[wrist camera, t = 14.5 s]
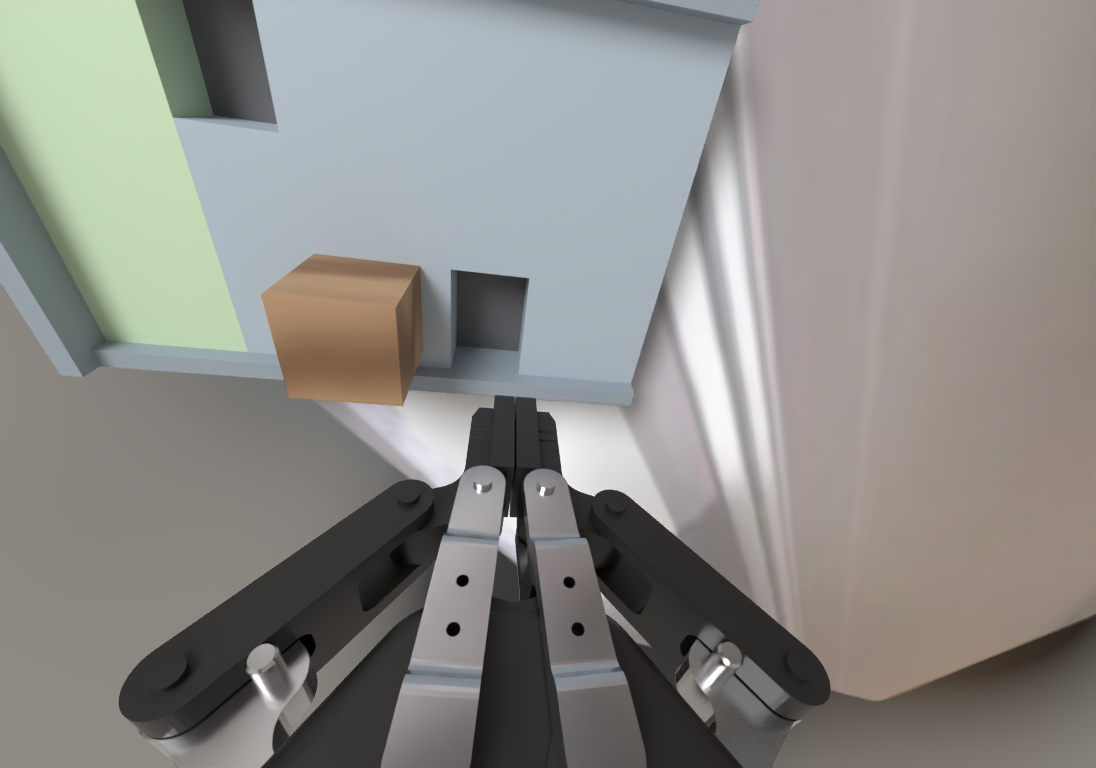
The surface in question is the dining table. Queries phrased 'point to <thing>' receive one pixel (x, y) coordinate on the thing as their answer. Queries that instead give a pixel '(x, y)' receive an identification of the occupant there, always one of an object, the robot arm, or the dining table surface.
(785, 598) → the dining table surface
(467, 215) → the tray
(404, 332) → the block
